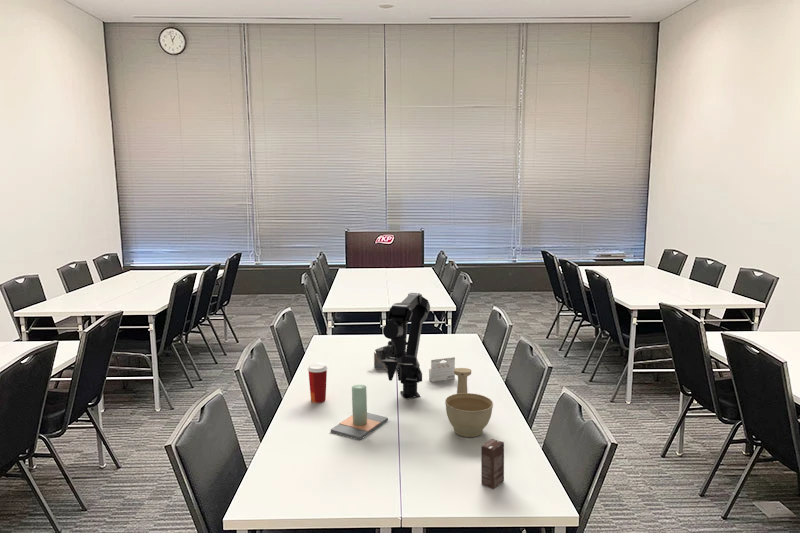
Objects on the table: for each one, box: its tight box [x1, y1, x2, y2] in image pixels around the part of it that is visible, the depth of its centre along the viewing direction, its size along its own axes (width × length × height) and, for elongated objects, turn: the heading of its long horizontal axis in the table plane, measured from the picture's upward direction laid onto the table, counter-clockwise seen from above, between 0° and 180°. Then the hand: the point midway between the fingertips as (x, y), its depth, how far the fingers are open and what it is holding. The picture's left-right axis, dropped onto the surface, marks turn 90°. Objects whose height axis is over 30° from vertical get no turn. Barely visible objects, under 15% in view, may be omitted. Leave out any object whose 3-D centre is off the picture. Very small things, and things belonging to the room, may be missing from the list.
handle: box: [454, 367, 472, 394], centre depth 220 cm, size 5×6×15 cm
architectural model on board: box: [373, 351, 400, 370], centre depth 266 cm, size 11×3×10 cm, turn 97°
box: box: [480, 438, 505, 490], centre depth 168 cm, size 6×4×12 cm
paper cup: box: [307, 362, 328, 404], centre depth 228 cm, size 8×8×14 cm
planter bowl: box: [444, 392, 494, 438], centre depth 201 cm, size 16×16×11 cm
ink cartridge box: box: [428, 357, 456, 382], centre depth 251 cm, size 2×11×10 cm, turn 108°
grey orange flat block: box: [330, 412, 389, 441], centre depth 206 cm, size 18×12×1 cm, turn 150°
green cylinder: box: [351, 384, 368, 426], centre depth 205 cm, size 5×5×13 cm
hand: (396, 381), depth 215 cm, fingers open, 9 cm apart
